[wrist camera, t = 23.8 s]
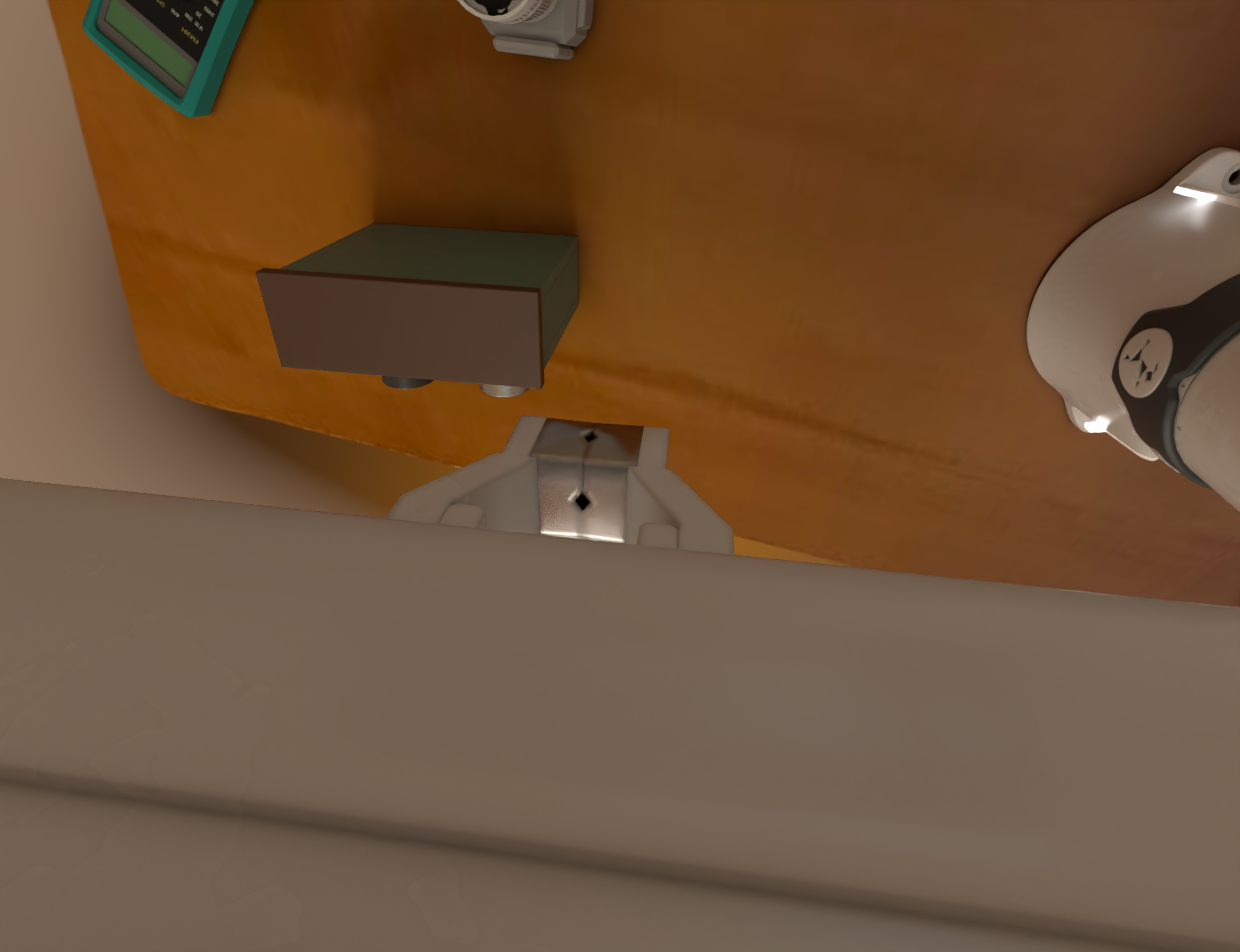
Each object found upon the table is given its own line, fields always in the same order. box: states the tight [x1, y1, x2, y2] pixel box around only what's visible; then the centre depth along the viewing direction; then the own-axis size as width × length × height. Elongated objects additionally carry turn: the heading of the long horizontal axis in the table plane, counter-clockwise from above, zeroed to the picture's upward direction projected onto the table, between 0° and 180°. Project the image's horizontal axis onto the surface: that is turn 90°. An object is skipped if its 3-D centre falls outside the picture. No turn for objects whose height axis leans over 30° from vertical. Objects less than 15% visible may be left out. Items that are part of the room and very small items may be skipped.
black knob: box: [382, 376, 433, 389], centre depth 44 cm, size 6×4×4 cm, turn 178°
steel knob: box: [479, 384, 530, 398], centre depth 43 cm, size 6×4×4 cm, turn 178°
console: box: [256, 223, 578, 389], centre depth 41 cm, size 6×16×14 cm, turn 88°
